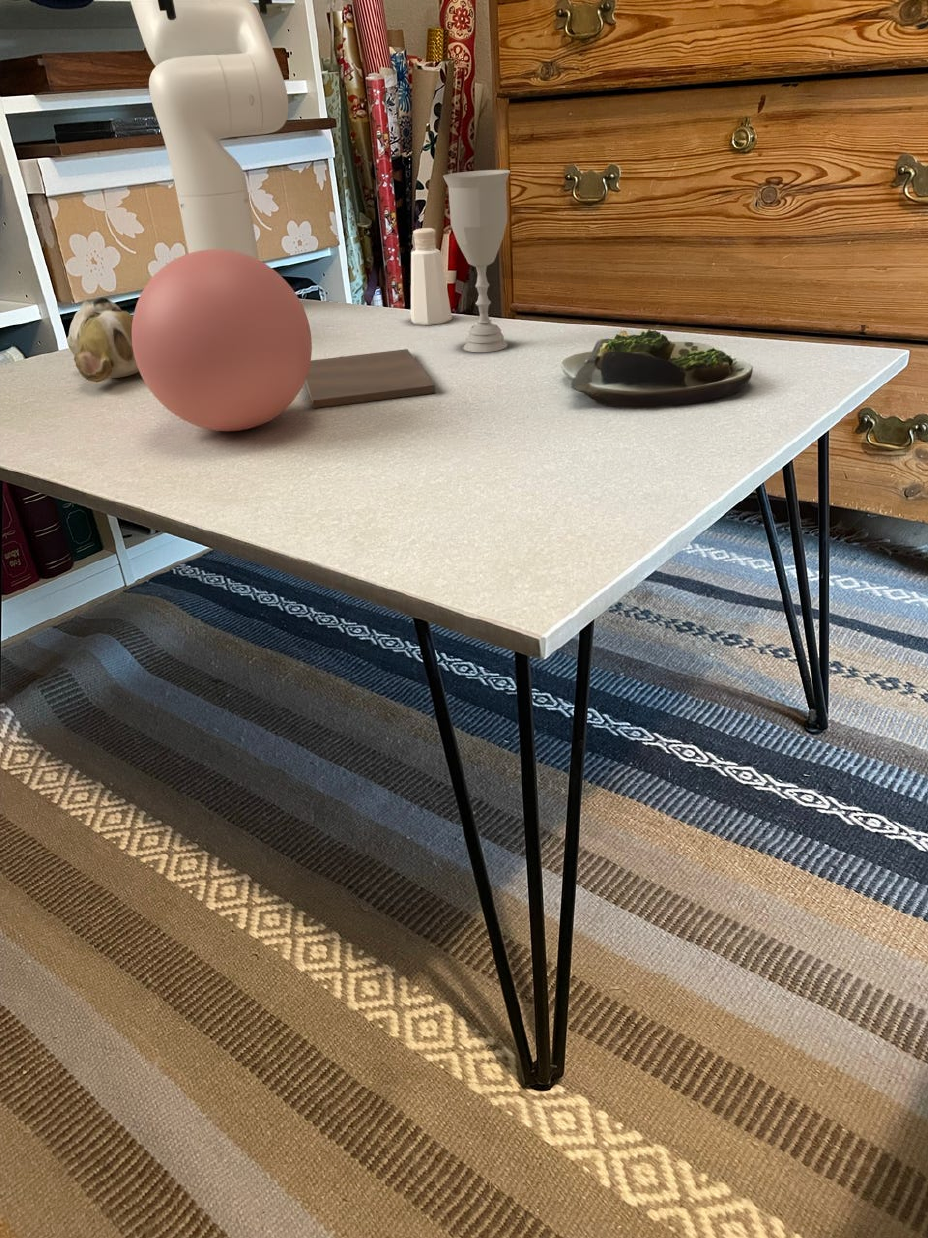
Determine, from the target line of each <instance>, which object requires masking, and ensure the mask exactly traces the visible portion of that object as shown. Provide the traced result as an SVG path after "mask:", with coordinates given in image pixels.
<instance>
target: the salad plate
mask: <svg viewBox="0 0 928 1238" xmlns="http://www.w3.org/2000/svg"><path fill="white" fill-rule="evenodd" d="M560 368H561V370H562V372H563V373H564V375H565V376H566V377H568V379H569V380H571V382H570V388H572V389H573V390H575V391H578V392H580V393H582V394H584V395H586V396H587V397H588V398H590V399H591V400H593V401H594V402H596V403H598V404H601V405H605V406H609V407H617V408H628V409H649V408H650V409H651V408H660V407H670V406H671V407H672V406H681V405H682V406H683V405H691V404H698V403H704V402H710V401H716V400H719V399H724V398H726V397H731V396H733V395H735V394H737V393H738V392H739V391H740V390H741V389H742V388H743V387H744V386H745V385H746V384H747V383H748V382H749V381H750V380H751V378H752V376H753V365H751V364H750V363H749V362H747V361H744V360H742V359H739V358H737V357H735V356H732V355H731V354H728V353H726V352H725V351H724V350H721V349H719V348H717V347H715V346H713V345H711V344H708V343H703V342H697V341H696V342H694V341H671V340H669V339H668V337H667V336H666V335H664V334H662V333H661V332H660V331H657V330H652V329H650V328H647V330H646V332H645V331H640V333H638V334H630V335H629V334H628V332H627V330H623V331H622V330H621V331H620V332H619V334H617V333H616V334H615V335H614V337H613V338H602V339H599V340H597V341H596V343H595V345H594V347H593V349H592V350H591V351H584V352H580V353H576V354H571V355H569V356H567V357H565V358H564V359H562V360H561V361H560Z"/></svg>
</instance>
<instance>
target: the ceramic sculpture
mask: <svg viewBox="0 0 928 1238" xmlns="http://www.w3.org/2000/svg"><path fill="white" fill-rule="evenodd" d="M133 316H134V315H132V314H131V313H130V312H128V311H127V310H124V309H121V307H119V306H118V305H117V304H116V303H115V302H113V301H112V300H109V298H106V297H99V298H97V299H95V300H93V301H92V302H90V301H88V300H84V301H83V302H82V304H81V307H80V308H79V309H78V310H77V312H75V314H74V315H73V318H72V321H71V323H70V325H69V331H68V335H67V338H66V342H67V346H68V348H69V350H70V352H71V353H72V355H73V356H74V357H73V361H74V362H75V367H76V369H77V370H78V372H79V374H81V376H82V377H83V378H84V379H85V380H87V381H90V382H93V383H101V382H104V381H105V380H107V379H108V378H112V379H120V378H125V377H129V376H133V375H135V374H137V373H140V372H139V369H138V367H137V364H136V360H135V357H134V352H133V346H132V322H133Z"/></svg>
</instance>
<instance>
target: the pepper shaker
mask: <svg viewBox="0 0 928 1238" xmlns="http://www.w3.org/2000/svg"><path fill="white" fill-rule="evenodd" d="M436 230H437V229H435V228H432V227H423V228H416V229H414V230H413V231H412V235H413V238H414V239H413V241H414V249H415V250H412V251H411V253H410V256H411V257H410V321H411V322H412V324H414V325H417V326H418V325H419V326H433V325H439V324H440V325H441V324H445V323H447V322H450V321H451V320H453V316H452V310H451V304H450V297H449V292H448V287H447V281H446V274H445V268H444V262H443V257H442V252H441V250H439V249H438V248H436V247H437V244H436V240H437V238H436V233H437V231H436Z"/></svg>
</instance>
